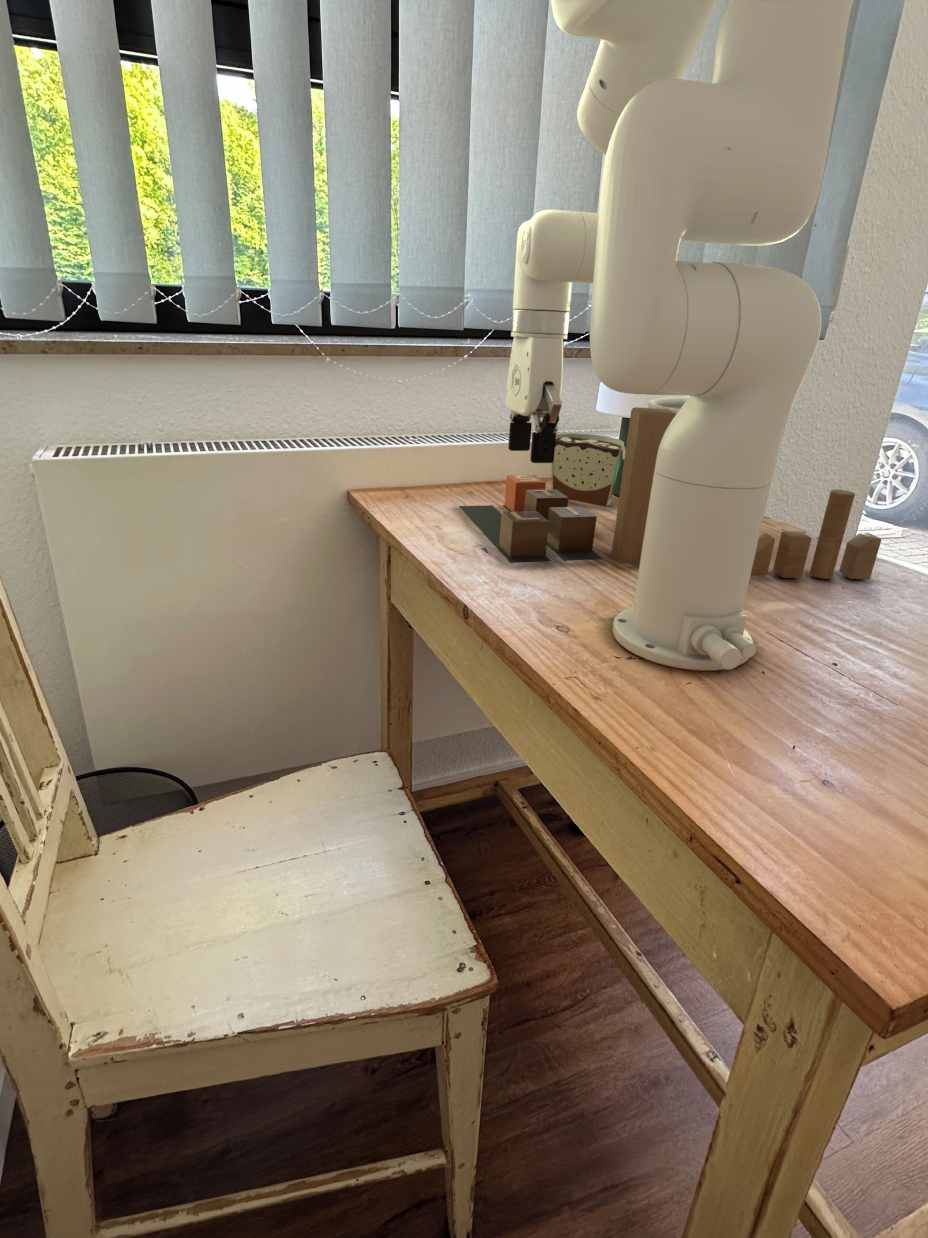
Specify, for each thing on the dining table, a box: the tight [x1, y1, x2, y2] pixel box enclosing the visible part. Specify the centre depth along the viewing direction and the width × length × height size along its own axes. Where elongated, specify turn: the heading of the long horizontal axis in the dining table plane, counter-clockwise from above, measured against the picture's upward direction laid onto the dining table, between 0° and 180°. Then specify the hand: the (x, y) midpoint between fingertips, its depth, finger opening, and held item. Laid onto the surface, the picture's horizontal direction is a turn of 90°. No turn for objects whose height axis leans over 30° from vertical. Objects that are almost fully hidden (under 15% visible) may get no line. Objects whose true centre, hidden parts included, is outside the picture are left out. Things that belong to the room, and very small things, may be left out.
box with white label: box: [499, 511, 549, 559], centre depth 86 cm, size 4×4×5 cm
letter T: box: [524, 488, 569, 520], centre depth 97 cm, size 4×4×5 cm
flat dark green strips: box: [458, 504, 604, 564], centre depth 96 cm, size 25×12×1 cm, turn 14°
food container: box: [551, 432, 626, 508], centre depth 112 cm, size 12×6×10 cm, turn 58°
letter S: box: [504, 474, 547, 512], centre depth 105 cm, size 4×4×5 cm
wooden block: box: [611, 406, 676, 565], centre depth 84 cm, size 9×4×18 cm, turn 90°
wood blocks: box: [750, 489, 882, 580], centre depth 83 cm, size 25×3×10 cm, turn 95°
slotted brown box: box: [547, 506, 598, 553], centre depth 89 cm, size 4×4×5 cm
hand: (529, 456), depth 102 cm, fingers open, 9 cm apart
